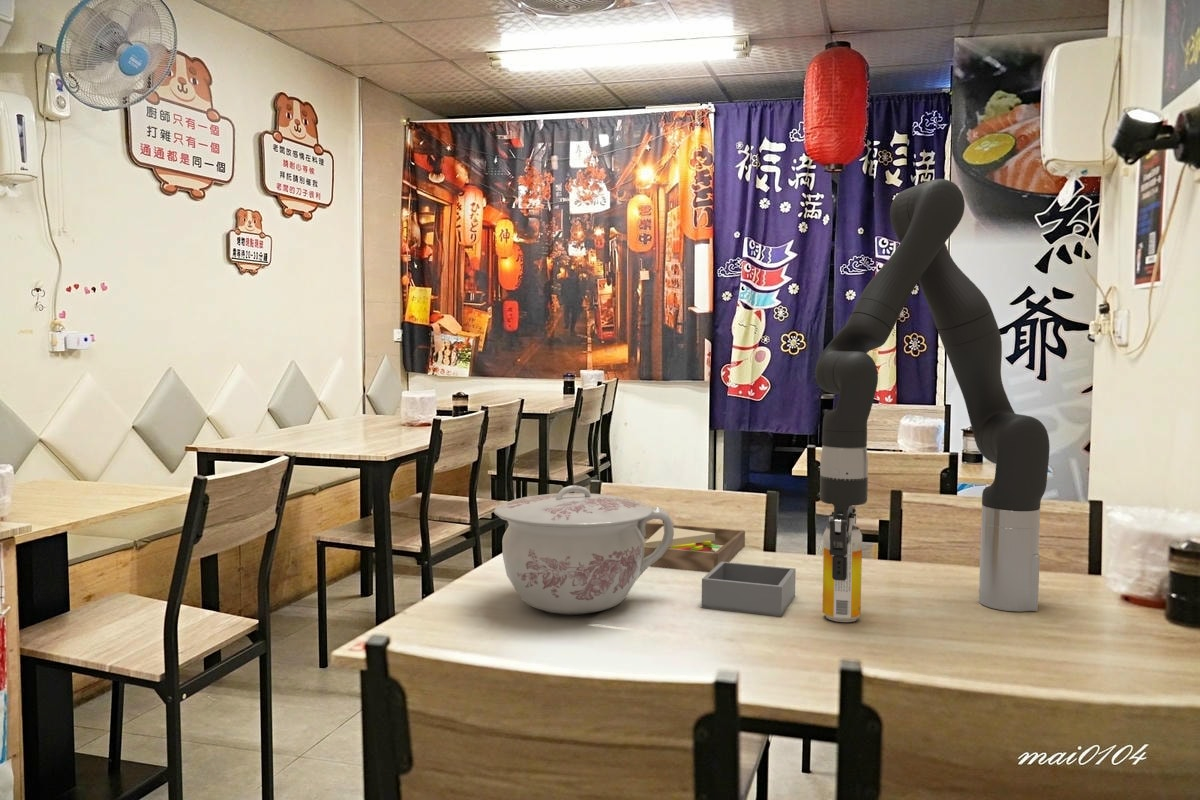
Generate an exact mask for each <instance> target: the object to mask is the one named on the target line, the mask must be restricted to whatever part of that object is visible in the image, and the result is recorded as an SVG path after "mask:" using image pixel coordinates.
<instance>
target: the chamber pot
mask: <svg viewBox="0 0 1200 800" xmlns="http://www.w3.org/2000/svg"><path fill="white" fill-rule="evenodd" d="M493 513H494V514H495V516H497V517H498V518H499V519H501V520H503V521H507V523H508V525H507V528H506V530H505V532H504V534H503V536H502V541H501V543H502V544H501V545H502V553H501V555H502V558H503V563H504V568H505V575H506V576H507V578H508V580H509V581H510V583H511V585H512V586H513V588H514V589H515V590H516V592H517V595H518V597H520V598H521V600H522V601H524V602H525V603H526V604H527V605H528V606H530V607H532V608H535V609H538V610H541V611H543V612H547V613H551V614H556V615H567V616H575V615H578V616H579V615H590V614H594V613H600V612H602V611H605V610H609V609H611V608H614V607H617V606H618V605H619V604H620V603H622V602H623V601H624V600H625V599H626V597H627V596H628V595H629V593H630V592H631V590H632V588H633V587H634V585H635V583H636V582H637V581H638V579H639V578H640V577H641V576H642V575H643V573H645V571H646V570H647V569H648V568H650V567H649V566H650V565H652V564H653V563H654V562H655V561H657V560H658V559H659V558H661V557H662V556H663V554H664V553H665V552H666V550H667V549H668V548H669V546H670V545H671V543H672V540H673V536H674V529H673V525H674V522H673V520H672V518H671V517H670V515H669V513H668V512H667V511H666V510H665V509H662V508H661V507H660V506H654V507H653V508H652V506H650V505H648V504H645V503H643V502H641V501H636V500H634V499H632V498H626V497H624V496H623V497H622V496H617V495H609V494H601V493H591V491H590V490H589V489H588V488H586V487H584V486H582V485H576V484H573V485H568V486H565V487H563V488H562V489H560V491H558V493H557V492H556V493H546V494H539V495H529V496H523V497H520V498H515V499H512V500H510V501H505V502H502V503H501V504H499V505H497V506H495V508H494V509H493ZM652 520H661V521H662V524H663V525H664V535H663V539H662V542H661V543H660V544H659V545H658V547H657V548H656V549H655V550H654V552H653V553H652V554H650V555H649V556H647V557H646V558H644V545H645V542H646V541H645V540H646V539H644V537H645V536H646V535H645V525H646V523H649V521H652ZM643 558H644V559H643Z"/></svg>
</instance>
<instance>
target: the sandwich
mask: <svg viewBox="0 0 1200 800" xmlns="http://www.w3.org/2000/svg"><path fill="white" fill-rule="evenodd" d="M673 529H674V536H673V540H672V543H671V545H670V546H669V548H672V549H682V550H693V551H704V552H714V549H713V548H716V549H720V548H721V547H722V546H720V545H714V544H711V541H715V533H709V532H702V531H694V530H686V529H679V528H673ZM663 535H664V526H662V527H661V528H660V529H659V530H658V531H657V532H656V533H655V534H654V535H652V536H651V537H650V538H649V539H646V541H645V545H644V546H650V547H658V545H659V544H660V543H661V542H662V539H663Z"/></svg>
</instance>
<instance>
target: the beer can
mask: <svg viewBox="0 0 1200 800" xmlns="http://www.w3.org/2000/svg"><path fill="white" fill-rule="evenodd" d="M847 536H848V531H847ZM829 537H830V524H829V525H827V526H826V528H825V530H824V532H823V553H822V555H823V557H822V559H823V561H822V562H823V563H822V564H823V567H822V568H823V569H822V613H823V615H825V619H828V620H830V621H834V622H839V623H851V622H855V621H857V620H858V618H859V617H860V616H861V612H862V609H861V607H862V569H863V567H862V561H863V559H862V558H863V554H862V553H863V534H862V532H861V528H860V527H859V526H856V525H855V528H853V531H852V542H851V543H850V544H848V557H847V578H846V580H844V581H842V580H834V579H833V578H832V562H833V557H832V555H830V553H829V550H830V539H829ZM836 548H843V543H842V542H837V543H836Z"/></svg>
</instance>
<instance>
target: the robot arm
mask: <svg viewBox="0 0 1200 800" xmlns="http://www.w3.org/2000/svg"><path fill="white" fill-rule="evenodd" d="M965 205H966V203H965V198H964V194H963V192H962V190H961V189H960V188H959V186H958V185H957V184H956V183H955V182H954V181H951V180H949V179H947V178H936V179H931V180H928V181H925V182H922V183H919V184H917V185H914V186H911V187H909V188H906V189H904V190H902V191H900V192H899V193H897V194H896V195H895V197H893V200H892V202H891V205H890V209H889V210H890V211H889V215H890V221H891V226H892V228H893V231H894V232H895V236H896V237H897V240H898V241H899V245H898V246H897V247H896V249H895V251H893V253H892V254H891V256H890V257H889V258H888V259H887V260H886V262H885V263H884V264H883V265H882V266H881V268H880V269H879V270H878V271H877V273H876V274H875V275H874V276H873V277H872V278H871V279H870V281H868V284H867V285H866V286H865V288H864V290H863V291H862V292H861V294H860V296H859V298H858V299H857V302H856V304H855V305H854V308H853V310H852V312H851V314H850V316H849V318H848V320H847V321H846V323H845V325H844V326H843V327H842V328H841V329H840V330H839V331H838V332H837V334H836V335H835V336H834V337H833V338H832V339H831V340H830V342H829V343H828V344H827V346H826V347H825V348H824V349H823V351H822V352H821V354H820V356H819V358H818V360H817V362H816V365H815V372H814V375H815V381H816V384H817V385H818V387H819V388H820V389H821V390H822V391H824V392H826V393H829V394H834V395H838V400H837V403H836V407H835V408H834V409H830V410H828V411H826V412H825V413H824V415H823V419H822V420H823V421H822V440H821V442H822V443H821V444H822V446H821V455H820V463H819V464H820V467H819V471H820V473H819V500H820V501H821V502H822V503H824V504H827V505H832V506H833V511H831V514H829V517H828V518H829V519H828V522H829V525H830V537H829V539H830V550H829V553H830V555H832V557H833V562H832V578H833V579H834V580H842V581H844V580H846V578H847V557H848V544H850V543H851V542H852V531H853V528H855V526H856V524H857V518H858V517H857V513H856V512H857V509H856V507H855V506H862V505H865V504H866V503H867V502H868V485H869V484H868V483H869V482H868V480H869V478H868V477H869V476H868V475H869V456H868V449H867V448H868V447H867V446H868V421H869V417H870V414H871V412H872V408H873V403H874V399H875V397H876V392H877V389H878V383H879V372H878V368H877V365H876V362H875V360H874V359H873V357H872V356H870V355H869V354H868V353H869V352H871V351H873V350H875V349H879V348H881V347H882V346H884V345H885V343H886V342H887V341H888V339H889V338H890V335H891V333H892V332H893V330H894V327H895V326H896V323H897V321H898V319H899V317H900V316H901V314H902V311H903V310H904V308H905V305H906V303H907V301H908V300H909V298H910V296H911V295H912V293H913V292H914V289H915V288H916V286H917V285H918V283H919V285H920V289H921V290H922V293H923V296H924V298H925V300H926V303H927V304H928V308H929V310H930V313H931V315H932V319H933V321H934V325H935V327H936V329H937V330H936V331H937V332H938V335H939V339H940V341H941V343H942V346H943V348H944V351H945V353H946V355H947V358H948V360H949V363H950V365H951V368H952V371H953V373H954V376H955V379H956V382H957V384H958V387H959V388H960V389H959V390H960V391H961V394H962V397H963V400H964V403H965V407H966V411H967V414H968V418H969V423H970V426H971V431H972V434H973V437H974V438H973V439H974V441H975V445H976V446H977V449H978V451H979V453H980V454H981V456H983V458H984V459H986V460H987V461H988V462H990V463H993V464H995V472H994V480H993V481H992V483H991V484H990V485H988V486H986V487H985V488H984V489H983V490H982V493H981V523H980V525H981V526H980V551H979V552H980V553H979V583H978V584H979V585H978V602H979V604H980V605H983V606H985V607H987V608H990V609H994V610H999V611H1006V612H1007V611H1008V612H1038V611H1039V593H1040V592H1039V591H1040V590H1039V589H1040V588H1039V587H1040V586H1039V585H1040V584H1039V583H1040V562H1041V561H1040V560H1041V559H1040V558H1041V556H1040V553H1039V551H1040V527H1041V525H1040V524H1041V523H1040V522H1041V502H1042V499H1043V497H1044V495H1045V493H1046V489H1047V485H1048V484H1047V483H1048V472H1049V463H1050V462H1049V461H1050V438H1049V432H1048V431H1047V428H1046V426H1045V425H1044V423H1042V422H1041V421H1040V420H1039V419H1037V418H1036V417H1033V416H1031V415H1025V414H1019V413H1018V414H1017V413H1016V411H1014V410H1015V409H1013V407H1012V405H1011V402H1010V400H1009V398H1008V395H1007V393H1006V390H1005V388H1004V384H1003V381H1002V355H1003V352H1002V351H1003V347H1002V345H1003V344H1002V343H1003V341H1002V335H1001V331H1000V328H999V326H998V323H997V321H996V317H995V315H994V312H993V310H992V307H991V305H990V302H989V301H988V299H987V297H986V296H985V295H984V293H983V292H982V291H981V290H980V288H979V287H978V286H977V285H976V284H975V283H974V282H973V281H972V280H971V279H970V278H969V276H967V275H966V274H965V273H964V272H963V270H962V269H961V268H959V267H958V265H957V264H956V262H955V261H954V259H953V257H952V256H951V253H950V252H949V249H948V247H947V243H946V242H947V241H948V240H949V238H950V237H951V236H952V234H953V233H954V231H955V230H956V229H957V227H958V225H959V224H960V223H961V221H962V218H963V216H964V214H965V213H964V212H965ZM847 531H848V536H847ZM837 542H842V543H843V548H836V543H837Z"/></svg>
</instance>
